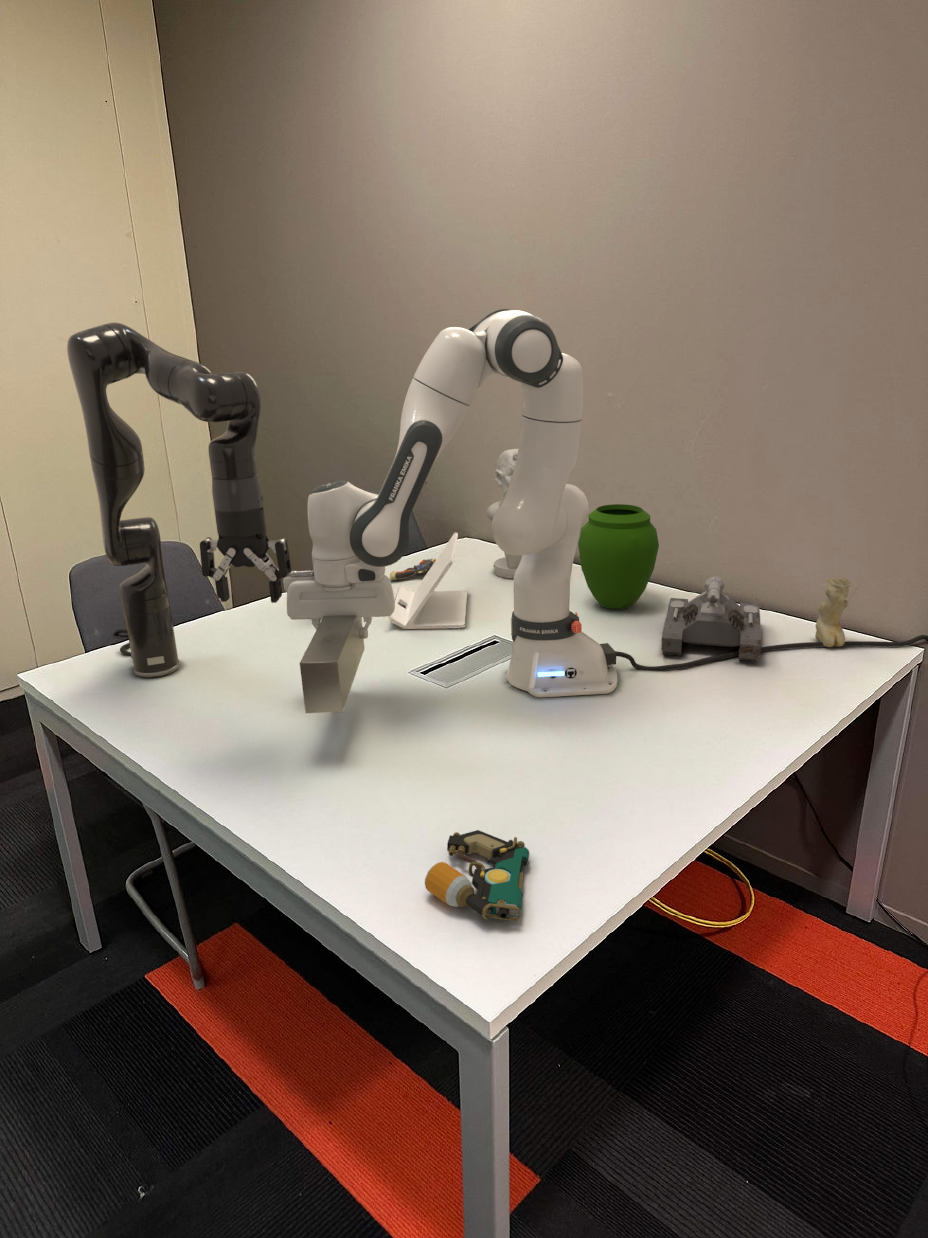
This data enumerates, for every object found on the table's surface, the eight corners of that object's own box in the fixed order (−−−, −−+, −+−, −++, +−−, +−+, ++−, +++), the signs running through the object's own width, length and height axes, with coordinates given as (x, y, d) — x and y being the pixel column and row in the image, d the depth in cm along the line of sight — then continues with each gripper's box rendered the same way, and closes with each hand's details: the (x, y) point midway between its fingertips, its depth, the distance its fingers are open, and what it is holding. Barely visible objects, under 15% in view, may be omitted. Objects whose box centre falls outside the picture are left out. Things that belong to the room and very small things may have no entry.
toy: (669, 617, 205) (672, 557, 199) (757, 623, 199) (763, 562, 194) (660, 658, 182) (664, 591, 177) (759, 666, 177) (766, 598, 171)
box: (333, 649, 168) (328, 606, 165) (364, 648, 168) (360, 604, 165) (305, 713, 142) (299, 663, 139) (342, 712, 142) (337, 661, 139)
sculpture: (821, 649, 184) (830, 583, 179) (808, 637, 191) (816, 573, 185) (848, 649, 184) (858, 582, 179) (834, 636, 191) (843, 572, 185)
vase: (599, 587, 227) (601, 497, 218) (668, 600, 216) (673, 505, 208) (562, 608, 212) (564, 513, 204) (634, 623, 202) (639, 523, 193)
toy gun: (387, 573, 236) (422, 570, 234) (404, 558, 254) (437, 555, 252) (388, 582, 237) (423, 579, 235) (405, 567, 255) (438, 564, 252)
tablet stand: (467, 593, 225) (465, 531, 219) (465, 628, 202) (462, 559, 196) (399, 594, 226) (395, 532, 220) (388, 629, 203) (384, 560, 197)
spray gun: (460, 839, 124) (557, 867, 119) (405, 903, 110) (513, 939, 104) (461, 813, 123) (559, 840, 117) (405, 875, 109) (514, 909, 103)
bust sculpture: (503, 593, 225) (502, 460, 212) (483, 567, 247) (480, 445, 234) (562, 587, 228) (563, 456, 215) (536, 562, 250) (536, 441, 237)
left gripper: (185, 509, 132) (199, 608, 138) (274, 509, 130) (285, 609, 136) (205, 498, 139) (218, 592, 145) (289, 498, 137) (299, 594, 143)
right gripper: (278, 576, 156) (286, 646, 161) (389, 572, 155) (395, 642, 160) (285, 566, 162) (293, 634, 166) (392, 562, 161) (398, 630, 166)
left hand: (250, 600), depth 140 cm, fingers open, 8 cm apart
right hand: (344, 638), depth 163 cm, fingers closed on box, 6 cm apart
